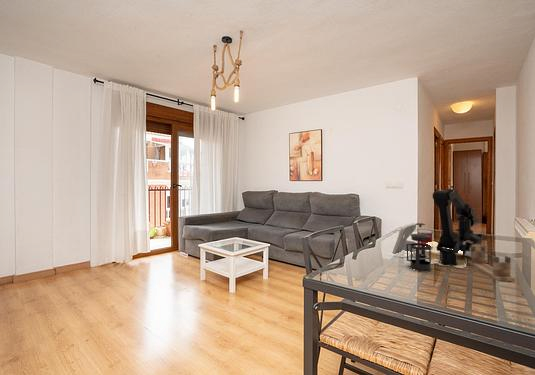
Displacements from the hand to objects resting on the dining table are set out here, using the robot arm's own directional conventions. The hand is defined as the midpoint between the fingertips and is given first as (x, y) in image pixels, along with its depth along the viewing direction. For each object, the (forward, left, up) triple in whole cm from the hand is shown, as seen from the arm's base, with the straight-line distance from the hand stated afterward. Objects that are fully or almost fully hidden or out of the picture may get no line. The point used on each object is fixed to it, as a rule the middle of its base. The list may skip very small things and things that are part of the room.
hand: (464, 255), depth 156 cm
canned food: (-14, +18, -1) cm, 23 cm away
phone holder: (-31, +6, -1) cm, 32 cm away
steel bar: (0, 0, 0) cm, 1 cm away
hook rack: (-1, -24, -1) cm, 24 cm away
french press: (-31, -21, -1) cm, 37 cm away
